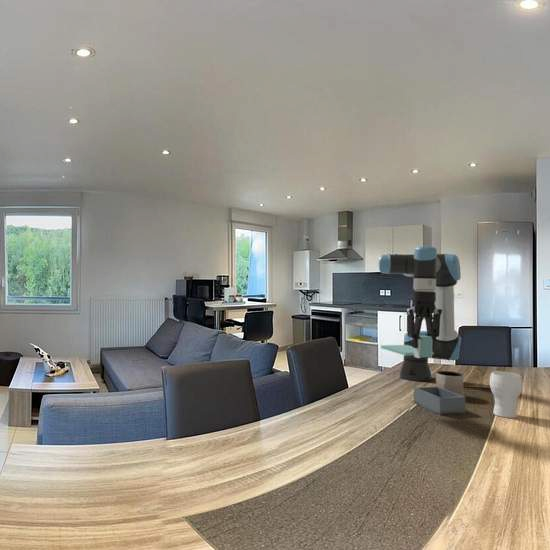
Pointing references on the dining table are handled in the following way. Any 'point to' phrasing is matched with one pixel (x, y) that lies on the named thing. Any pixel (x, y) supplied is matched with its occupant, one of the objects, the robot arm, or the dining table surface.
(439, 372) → the planter
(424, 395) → the tub
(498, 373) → the cup
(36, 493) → the dining table surface
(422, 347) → the lid
